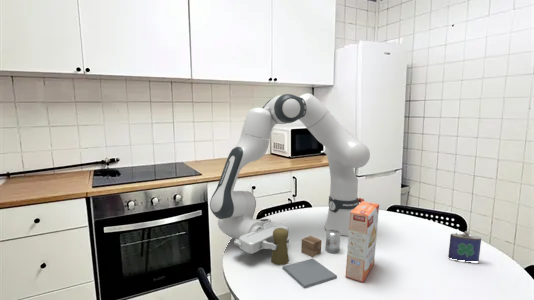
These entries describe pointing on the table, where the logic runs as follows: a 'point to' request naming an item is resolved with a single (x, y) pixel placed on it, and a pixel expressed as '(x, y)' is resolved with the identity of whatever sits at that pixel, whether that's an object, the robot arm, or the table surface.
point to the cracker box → (362, 240)
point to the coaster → (309, 273)
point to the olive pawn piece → (280, 247)
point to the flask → (464, 247)
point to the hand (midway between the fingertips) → (282, 244)
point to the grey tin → (332, 241)
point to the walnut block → (311, 246)
